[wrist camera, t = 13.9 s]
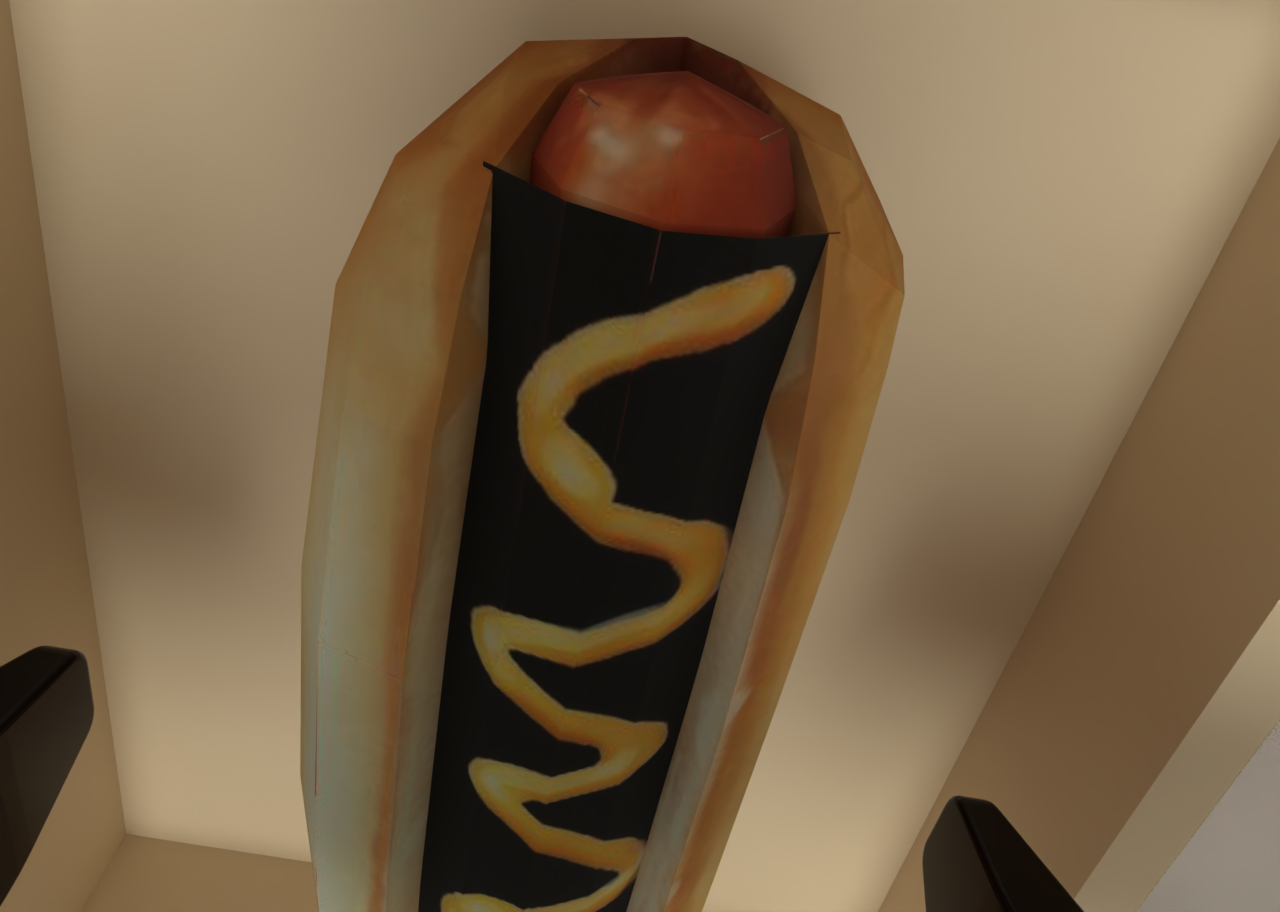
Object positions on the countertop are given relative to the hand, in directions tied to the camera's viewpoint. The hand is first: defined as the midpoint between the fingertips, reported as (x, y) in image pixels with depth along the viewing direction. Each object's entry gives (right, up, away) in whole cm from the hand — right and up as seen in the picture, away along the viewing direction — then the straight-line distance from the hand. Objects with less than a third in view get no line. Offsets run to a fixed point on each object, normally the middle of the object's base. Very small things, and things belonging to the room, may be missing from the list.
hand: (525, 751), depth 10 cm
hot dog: (0, +2, +3) cm, 4 cm away
